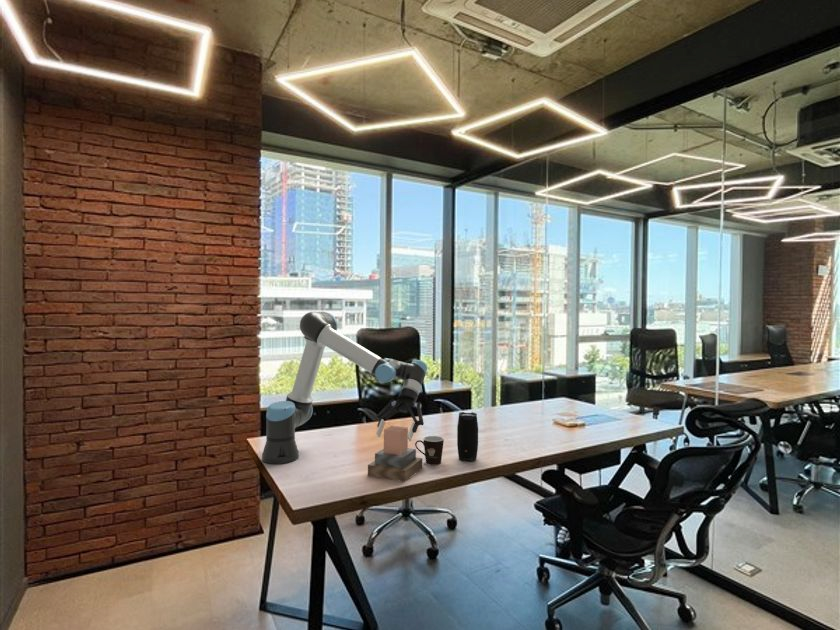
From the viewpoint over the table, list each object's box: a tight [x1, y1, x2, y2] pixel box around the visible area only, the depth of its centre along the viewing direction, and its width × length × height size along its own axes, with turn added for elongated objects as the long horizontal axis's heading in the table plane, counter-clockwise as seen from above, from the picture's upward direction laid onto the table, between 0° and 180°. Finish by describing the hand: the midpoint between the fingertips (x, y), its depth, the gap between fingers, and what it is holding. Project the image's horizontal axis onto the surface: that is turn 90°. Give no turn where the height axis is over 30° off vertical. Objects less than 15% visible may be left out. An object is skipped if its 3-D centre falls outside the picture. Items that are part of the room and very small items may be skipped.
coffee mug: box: [414, 435, 445, 466], centre depth 190 cm, size 12×9×10 cm
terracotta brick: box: [383, 425, 409, 455], centre depth 178 cm, size 7×7×9 cm
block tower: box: [367, 447, 423, 482], centre depth 178 cm, size 16×16×8 cm
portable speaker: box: [456, 411, 479, 462], centre depth 194 cm, size 9×9×20 cm
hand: (393, 437), depth 175 cm, fingers open, 13 cm apart
